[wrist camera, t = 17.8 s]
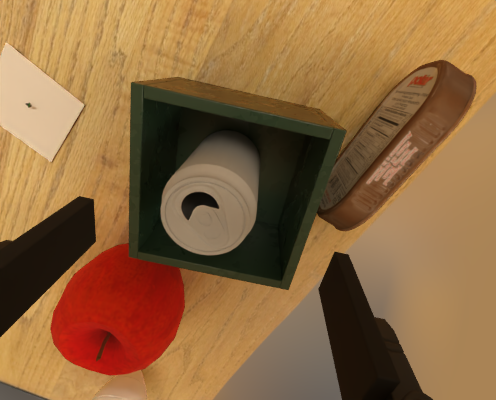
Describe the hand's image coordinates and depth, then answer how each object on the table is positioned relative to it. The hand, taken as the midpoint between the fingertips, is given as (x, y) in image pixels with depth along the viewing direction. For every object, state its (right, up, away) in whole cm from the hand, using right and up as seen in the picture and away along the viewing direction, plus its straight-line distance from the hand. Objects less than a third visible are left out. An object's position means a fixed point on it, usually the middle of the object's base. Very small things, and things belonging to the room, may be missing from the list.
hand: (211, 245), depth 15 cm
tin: (+13, +8, +12) cm, 20 cm away
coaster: (-20, +12, +12) cm, 26 cm away
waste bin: (+1, +6, +13) cm, 15 cm away
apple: (-10, -5, +20) cm, 23 cm away
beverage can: (0, +7, +13) cm, 15 cm away
